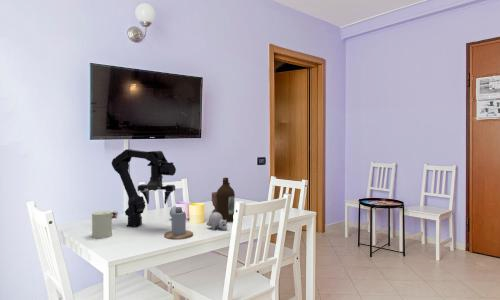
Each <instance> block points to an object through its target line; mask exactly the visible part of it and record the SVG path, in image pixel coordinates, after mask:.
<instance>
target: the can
mask: <svg viewBox="0 0 500 300" xmlns="http://www.w3.org/2000/svg"><path fill="white" fill-rule="evenodd" d="M112 212H113V211H111V210H98V211H93V212H92V213H91V231H92V233H91V237H92V238H93V239H105V238H110V237H112V236H113V231H112V230H113V226H112V225H113V217H112Z"/></svg>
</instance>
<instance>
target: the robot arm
mask: <svg viewBox="0 0 500 300" xmlns="http://www.w3.org/2000/svg"><path fill="white" fill-rule="evenodd" d="M132 158H136V159H143V160H147V161H148V162H149V163H148V164H147V167H150V178H149V181H148V183H147V184H145V183H144V184H139V185H138V186H137V190H136V187H135V184H134V182H133V180H132V177H131V175H130V171H129V170H130V164H129V163H130V162H131V160H132ZM111 166H112V168H113V170H114V172H116V173H117V174H118V175H119V177H120V180H121V182H122V184H123V187H124V189H125V192H126V195H127V197H128V201H127V205H128V207H127V209H126V210H125V211H124V213H125V216H127V225H126V227H130V228H131V227H133V228H134V227H135V228H138V227H140V226H141V225H143V217H142V214H143V213H144V211H145V208H146V204H147V205H149V204H150V191H154V192H155V191H157V190H158V191H159V190H162V191H163V190H164V205H167V202H168V200H169V197H170V195H171V193H173V192H174V191H175V190H176V185H175V184H167V185H163V178H164V177H163V176H170V177H171V176H174V175H175V174H176V171H177V169H176V166H175V165H174V162H171V161H170V162H169V161H168V160H167V158H166V157H165V154H164V152H163V151H162V150H153V151H145V150H136V149H131V148H129V149H126V148H125V149H124V150H123V151H122V152H121V153H120V154H118V155H116V156H115V157H114V158H112V161H111ZM137 191H138V192H139V193H141V194H142V195H143V196H142V195H141V196H140V195H139V194H138V192H137ZM144 198H145V200H144Z"/></svg>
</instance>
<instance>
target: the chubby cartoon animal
mask: <svg viewBox="0 0 500 300" xmlns="http://www.w3.org/2000/svg"><path fill="white" fill-rule="evenodd" d="M226 221H227V220H223V218H222V215H221V214H220V213H218V212H214V213H212V212H211V214H210V215H209V217H208V220H207V221H206V225H207V227H210V229H212V230H215V229H219V228H221V230H223V231H227V229H228V227H229V226H228V224H227V223H228V222H226Z"/></svg>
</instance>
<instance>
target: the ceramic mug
mask: <svg viewBox="0 0 500 300" xmlns="http://www.w3.org/2000/svg"><path fill="white" fill-rule="evenodd" d="M176 206H177V205H174V206H173V207H171V208H170V210H169V216H170V218H172V212H176Z"/></svg>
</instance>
